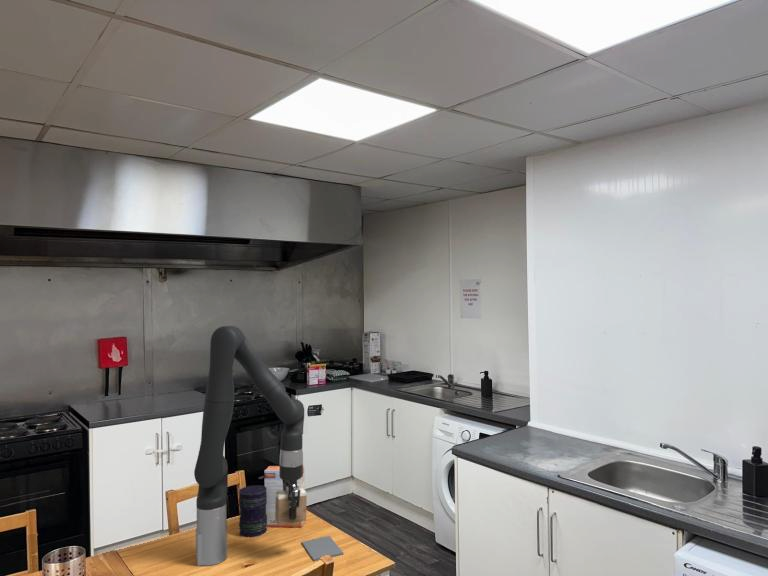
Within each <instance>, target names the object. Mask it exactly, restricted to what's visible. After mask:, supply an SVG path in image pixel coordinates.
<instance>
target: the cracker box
mask: <svg viewBox="0 0 768 576" xmlns="http://www.w3.org/2000/svg"><path fill="white" fill-rule="evenodd" d="M279 470H280V465H269V466H267V468H266V469H264V472H263V473H264V486H265V487H266V492H267V504H266V514H267V528H268V527H269V528H270V527H271V528H302V527H303V526H304V524H305V522H306V521H301V522H295V523H289V524H284V525H278V524H277V522H276V520H275V503H276V492H278V491H283V482H282V479H281V478H280V477H279ZM305 483H306V482H305V466H304V465H303V476H302V478H300V479H298V480H297V484H298V485H299V488H303V489H304V490H305V491H306V489H305V488H306V487H305V485H306V484H305Z"/></svg>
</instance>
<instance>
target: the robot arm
mask: <svg viewBox="0 0 768 576" xmlns="http://www.w3.org/2000/svg"><path fill="white" fill-rule="evenodd" d="M209 346H210V347H209V353H210V355H209V371H208V376H207V383H206V389H205V395H204V401H203V402H204V403H203V409H202V421H201V435H200V437H201V438H200V445H199V449H198V455H197V460H196V463H195V467H194V472H193V474H194V479H195V481H196V483H197V484H198V491H197V497H196V504H195V505H196V528H195V559H196V564H197V566H198V567H200V566H208V567H209V566H213V565H217V564H220V563H222V562H224V561H225V560H226V559H228V558H227V557H228V547H227V546H228V544H227V543H228V542H227V541H228V538H227V537H228V532H227V531H228V530H227V523H228V522H227V515H228V514H227V499H228V498H227V496H228V490H229V488H228V485H229V482H228V481H229V478H228V476H229V475H228V473H229V471H228V470H229V469H228V467H229V465H228V461H227V459H226V457H225V456H224V451H225V450H224V449H225V442H226V438H227V435H228V432H229V428H230V426H231V422H232V418H233V412H234V404H235V395H236V393H235V385H234V379H233V378H234V377H233V366H234V361H235V360H236V361H237V362H238V363H239V364H240V365H241V366H242V368H243V369H244V370H245V372H246V374H247V376H248V378H249V380H250V381H251V382H252V384H253V386H254V387H255V388H256V390H257V391H258V392H259V393H260V394H261V395H262V397H263V398H264V399H265V400H266V401H267V402H268V403H269V405H270V407H271V408H272V410H273V412H274V413H275V414H276V416H277V417H278V418H279V420H281V421H282V423H283V428H282V431H281V435H280V450H279V452H280V453H279V466H280V470H279V477H280V478H281V479H282V482H283V491H287V495H288V498H287V499H288V500H289V519H290V520H293V519H296V509H297V507H299V500H300V489H299V485H298V484H297V480H298V479H300V478H302V476H303V466H304V452H303V451H304V450H303V431H304V430H303V429H304V424H305V423H304V421H305V405H304V403H303V402H302V401H301V400H299V399H297V398H291V397H290V395H289V394H288V393H287V392H286V391H287V389H286V387H285V385H284V384H283V383H282V382H281V381H280V379H279V378H278V377H277V376H276V375H275V374H274V373H273V372H272V371H271V369H270V368H269V367H268V366H267V365H266V364H265V362H263V360H262V359H261V358H260V357H259V356H258V354H257V353H256V351H255V350H254V348H253V347H252V345H251V344H250V342H249V340H248V339H247V338H246V336H245V334H244V333H243V331H242V330H241V329H240V328H238V327H237V326H235V325H224V326H220V327H218V328H216V329H215V330H214V331H213V333H212V334H211V338H210V345H209ZM298 489H299V490H298ZM289 495H291V497H290V496H289ZM294 501H295V503H293V502H294Z"/></svg>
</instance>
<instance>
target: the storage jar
mask: <svg viewBox="0 0 768 576" xmlns="http://www.w3.org/2000/svg"><path fill="white" fill-rule="evenodd" d="M238 503H239V504H238V506H239V520H238V521H239V522H238V527H239V536H241V537H242V536H244V537H243V538H248V537H249V539H250V538H257V537H260V536H263V535H265V534H266V533H267V532H266V531H268V527H267V514H266V504H267V492H266V487H265V485H259V484H258V485H257V484H255V485H248V486H244V487H242V488H240V489H239V491H238ZM264 533H265V534H264ZM262 534H263V535H262Z"/></svg>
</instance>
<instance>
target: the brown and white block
mask: <svg viewBox="0 0 768 576" xmlns="http://www.w3.org/2000/svg"><path fill="white" fill-rule="evenodd" d="M299 489H300V500H299V507H297V509H296V519H293V520H290V519H289V500H288V499H287V498H288V495H287V491H278V492H276V503H275V520H276V522H277V524H278V525H284V524H289V523H295V522H301V521H305V522H306V521H307V494H308V493H307V491H306V489H305V490H304V489H303V488H299ZM299 489H298V490H299ZM289 496H290V497H291V495H289ZM293 503H295V501H294V502H293Z"/></svg>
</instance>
